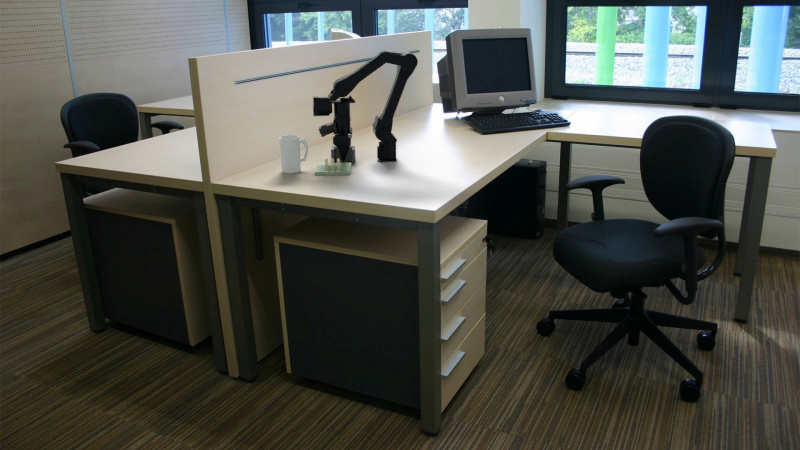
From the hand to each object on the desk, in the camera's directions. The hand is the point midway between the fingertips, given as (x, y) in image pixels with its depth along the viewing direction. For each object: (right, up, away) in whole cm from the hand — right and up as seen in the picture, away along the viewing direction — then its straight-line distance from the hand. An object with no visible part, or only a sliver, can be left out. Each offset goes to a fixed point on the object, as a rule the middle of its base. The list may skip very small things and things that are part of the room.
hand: (343, 158), depth 240 cm
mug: (-16, -6, -11) cm, 20 cm away
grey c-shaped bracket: (0, -1, 0) cm, 1 cm away
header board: (-3, -5, -11) cm, 12 cm away
